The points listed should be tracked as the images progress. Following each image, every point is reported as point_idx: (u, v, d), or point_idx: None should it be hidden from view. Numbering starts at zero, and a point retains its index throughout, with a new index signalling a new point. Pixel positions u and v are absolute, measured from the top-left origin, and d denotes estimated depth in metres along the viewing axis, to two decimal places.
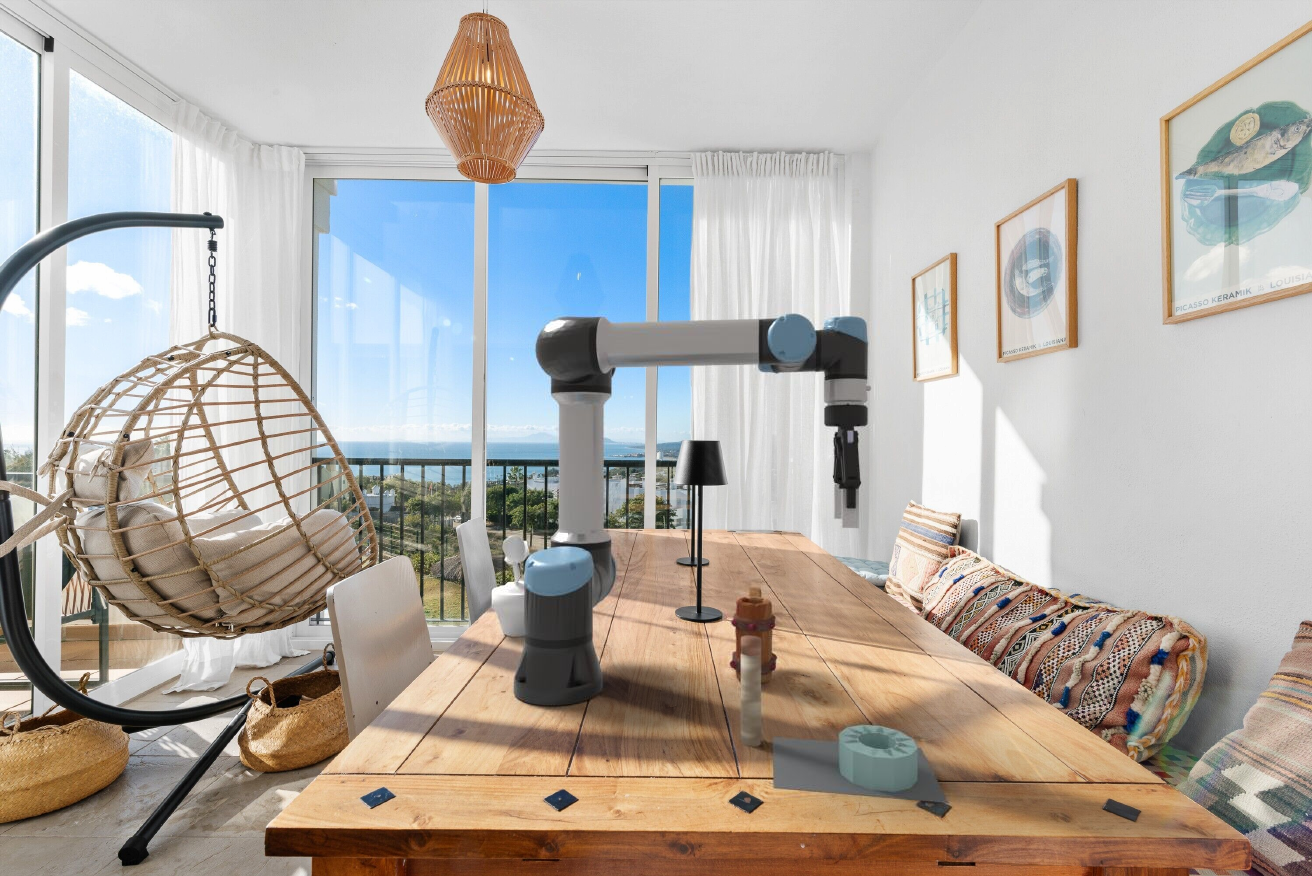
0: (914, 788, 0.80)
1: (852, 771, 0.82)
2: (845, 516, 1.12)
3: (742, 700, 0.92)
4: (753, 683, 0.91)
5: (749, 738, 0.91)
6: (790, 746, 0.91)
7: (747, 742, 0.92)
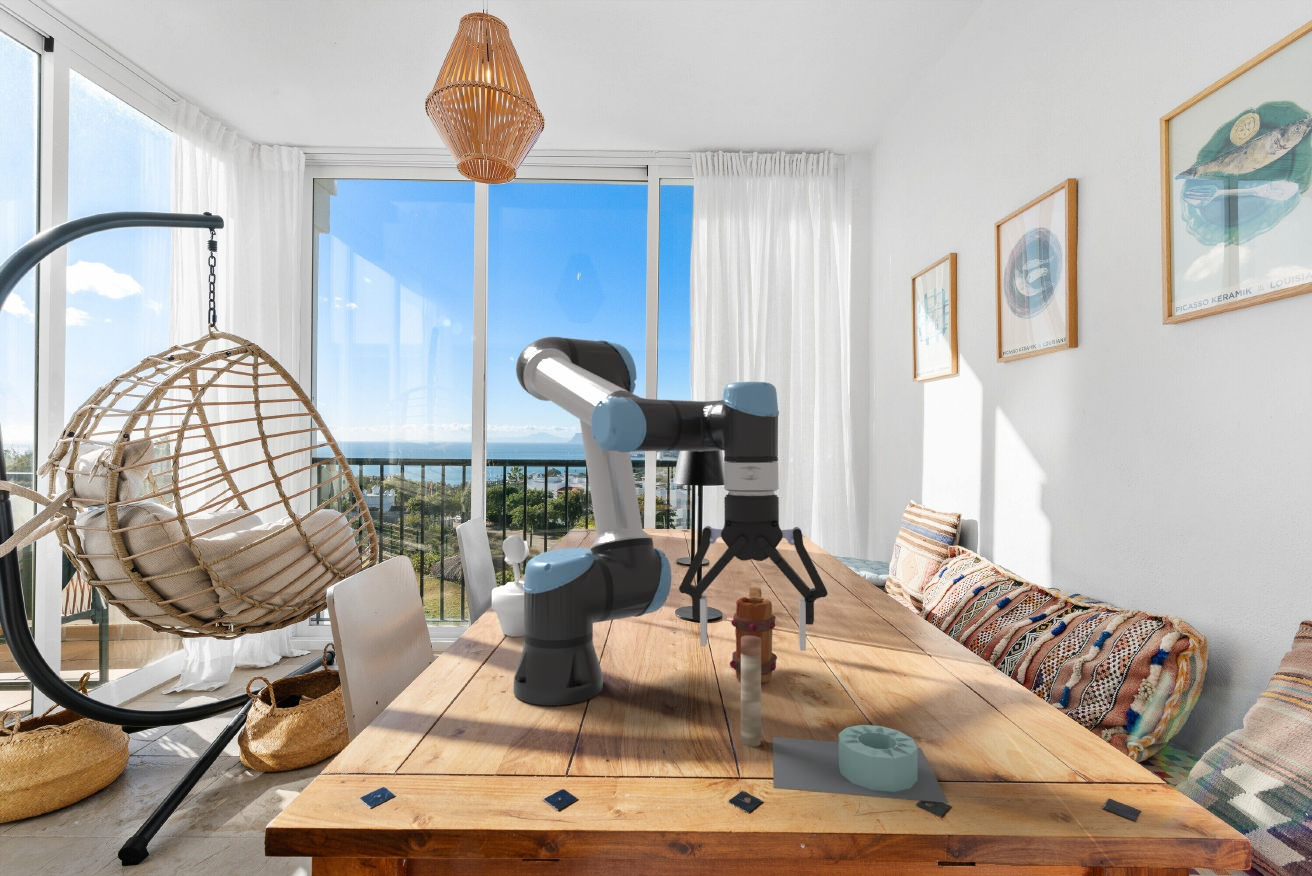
0: (914, 788, 0.80)
1: (852, 771, 0.82)
2: None
3: (742, 700, 0.92)
4: (753, 683, 0.91)
5: (749, 738, 0.91)
6: (790, 746, 0.91)
7: (747, 742, 0.92)
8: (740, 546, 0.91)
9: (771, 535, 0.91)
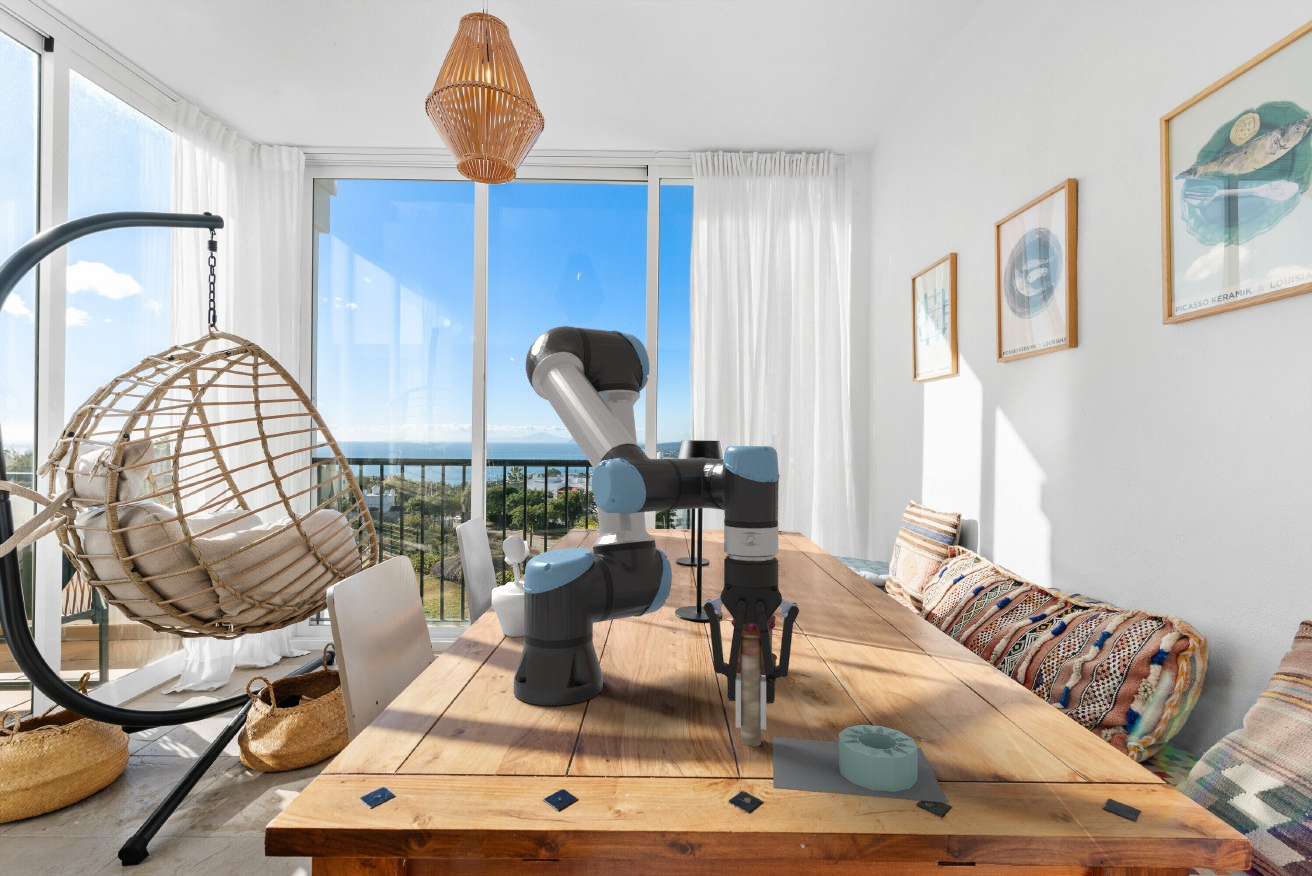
0: (914, 788, 0.80)
1: (852, 771, 0.82)
2: None
3: (742, 700, 0.92)
4: (753, 683, 0.91)
5: (749, 738, 0.91)
6: (790, 746, 0.91)
7: (747, 742, 0.92)
8: (743, 610, 0.91)
9: (771, 598, 0.91)
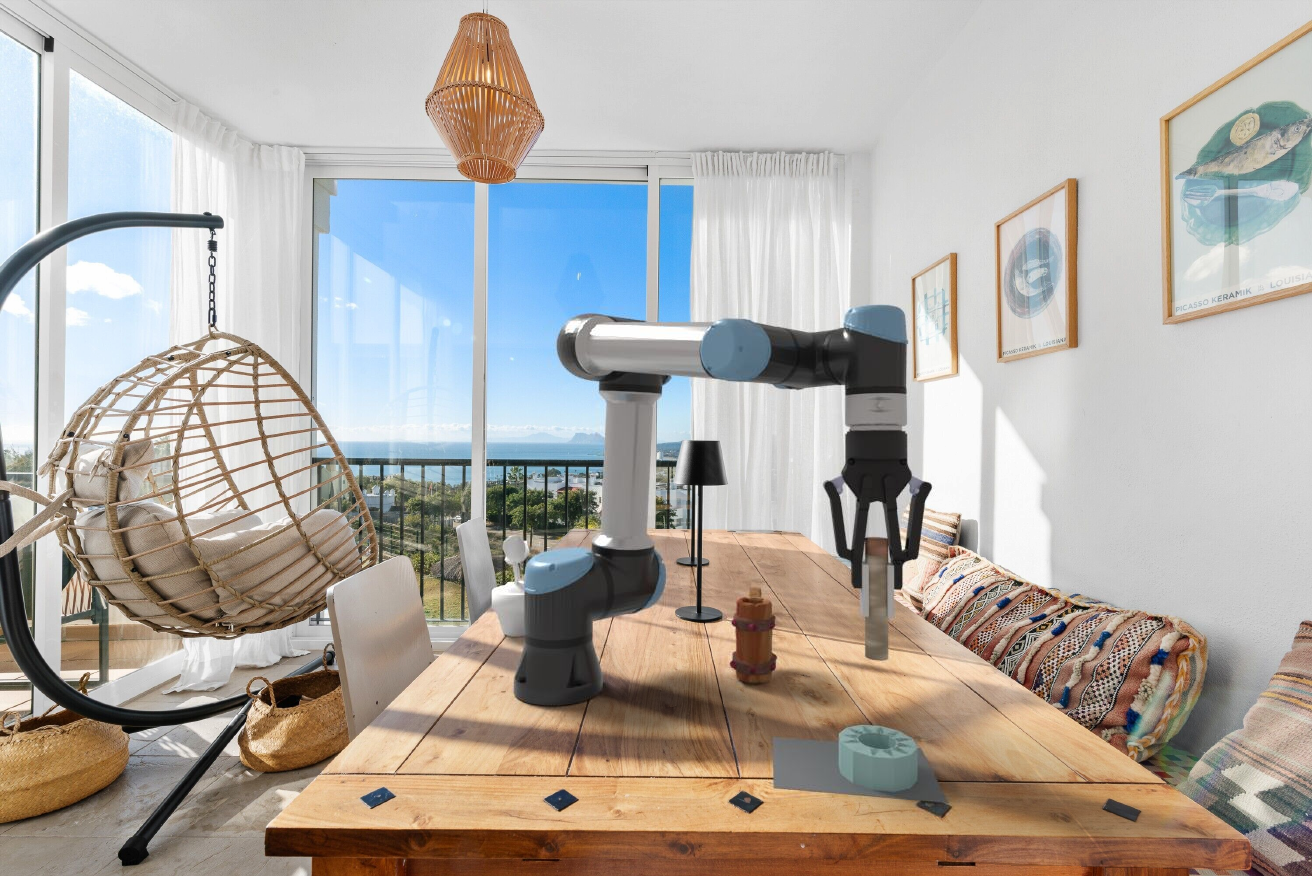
0: (914, 788, 0.80)
1: (852, 771, 0.82)
2: (860, 597, 0.85)
3: None
4: (881, 586, 0.83)
5: (876, 646, 0.83)
6: (790, 746, 0.91)
7: (874, 652, 0.83)
8: (870, 486, 0.83)
9: (900, 473, 0.83)
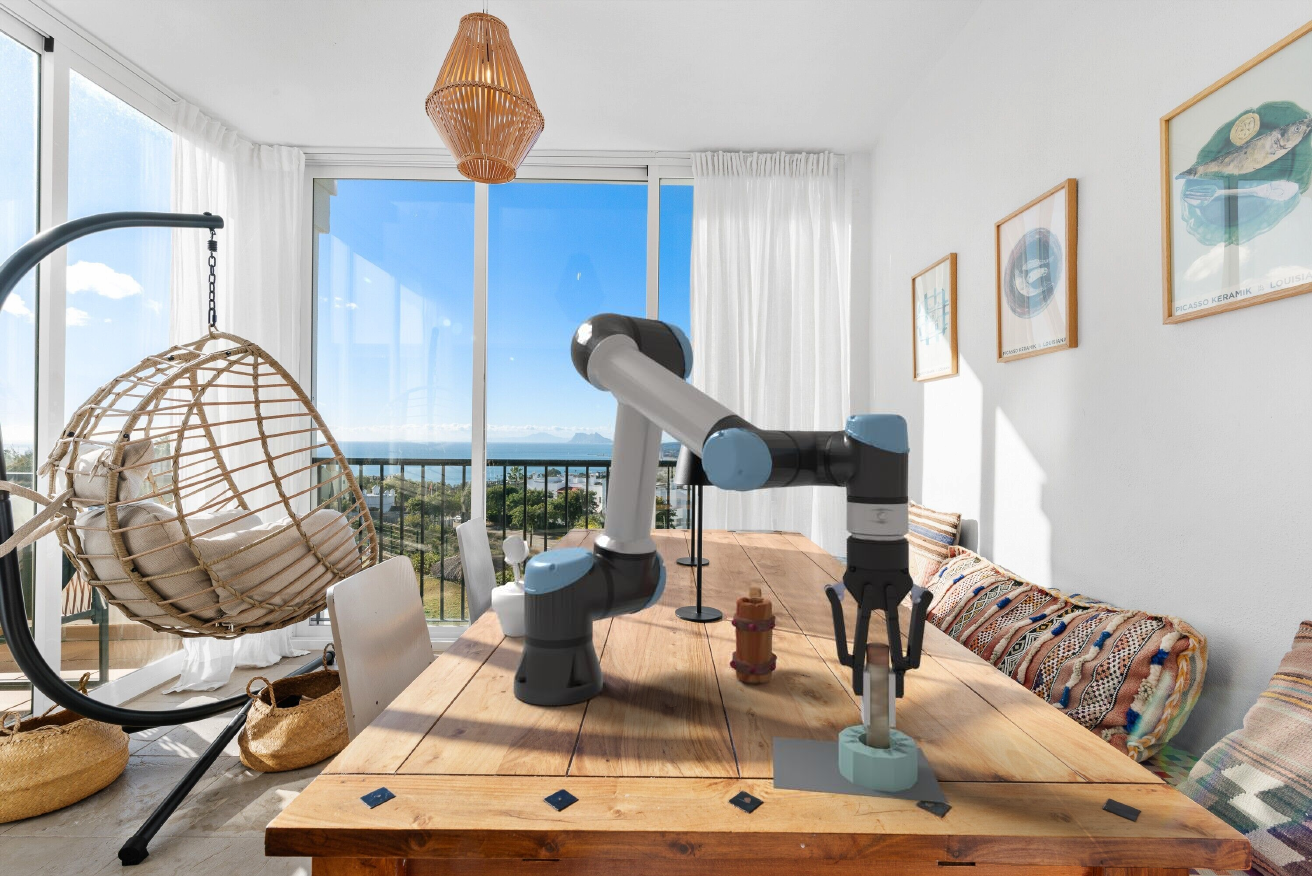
0: (914, 788, 0.80)
1: (852, 771, 0.82)
2: (861, 703, 0.85)
3: None
4: (882, 695, 0.83)
5: None
6: (790, 746, 0.91)
7: None
8: (871, 595, 0.83)
9: (902, 582, 0.83)
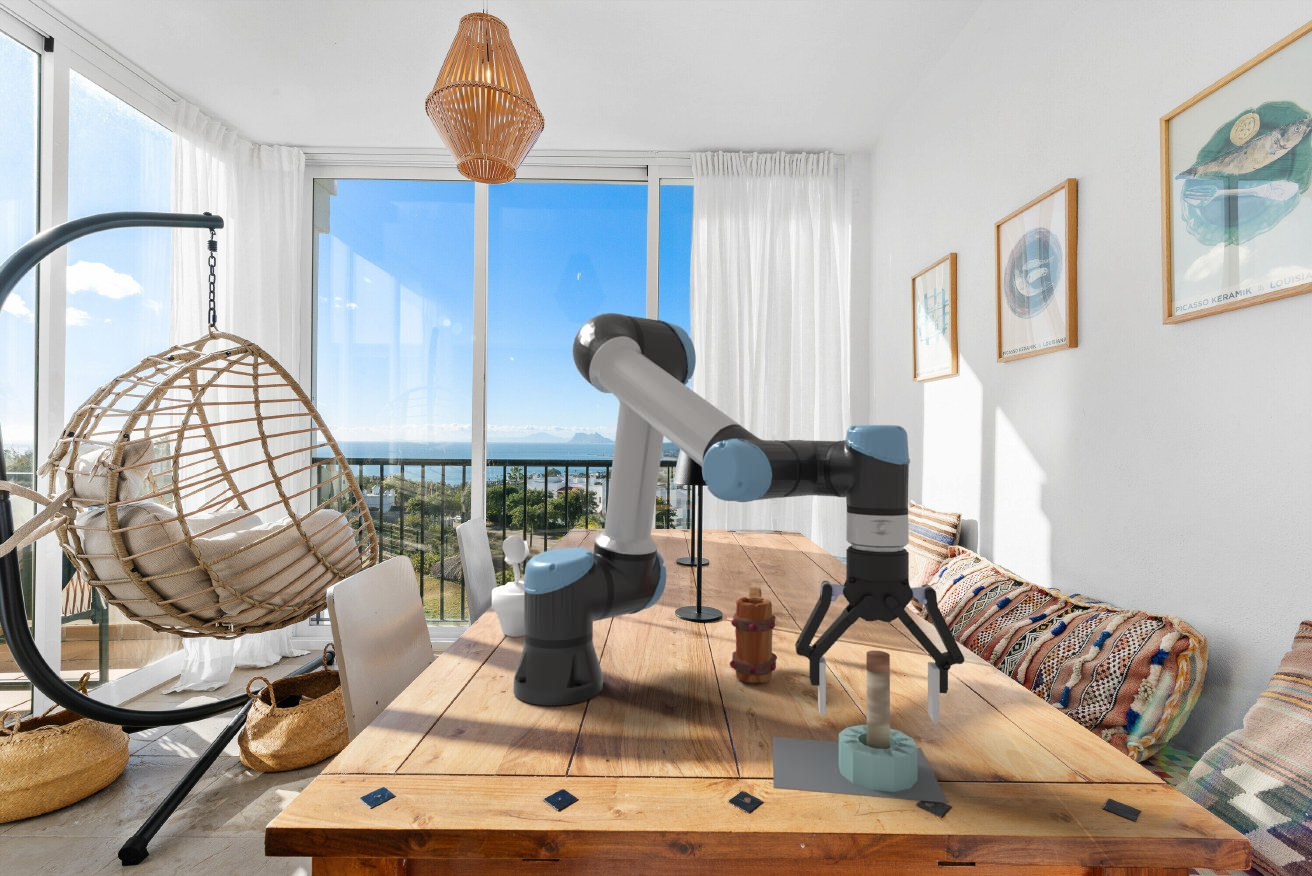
0: (914, 788, 0.80)
1: (852, 771, 0.82)
2: (818, 693, 0.86)
3: (869, 722, 0.84)
4: (882, 703, 0.83)
5: None
6: (790, 746, 0.91)
7: None
8: (867, 606, 0.83)
9: (901, 594, 0.83)
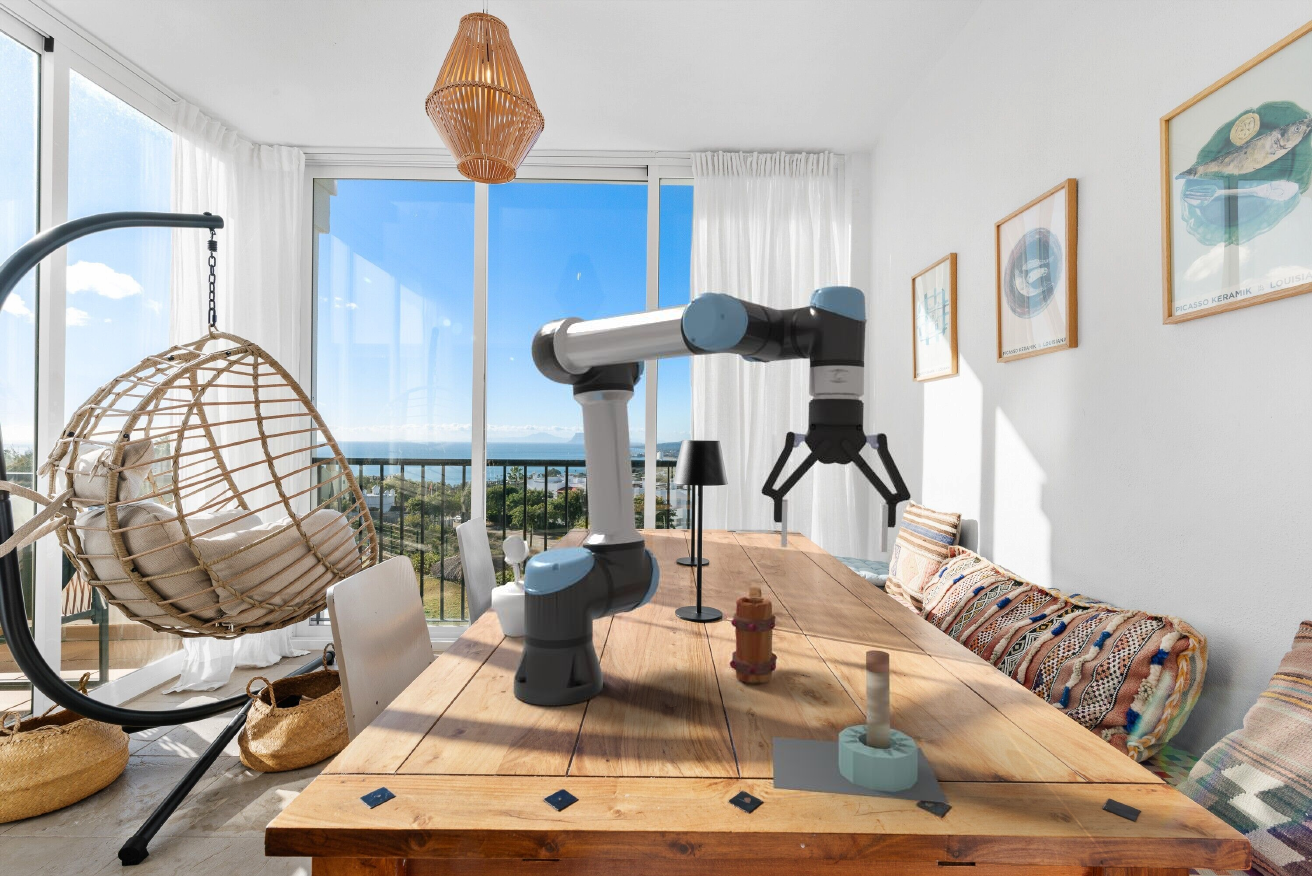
0: (914, 788, 0.80)
1: (852, 771, 0.82)
2: None
3: (869, 722, 0.84)
4: (882, 703, 0.83)
5: None
6: (790, 746, 0.91)
7: None
8: (824, 449, 0.93)
9: (855, 439, 0.93)
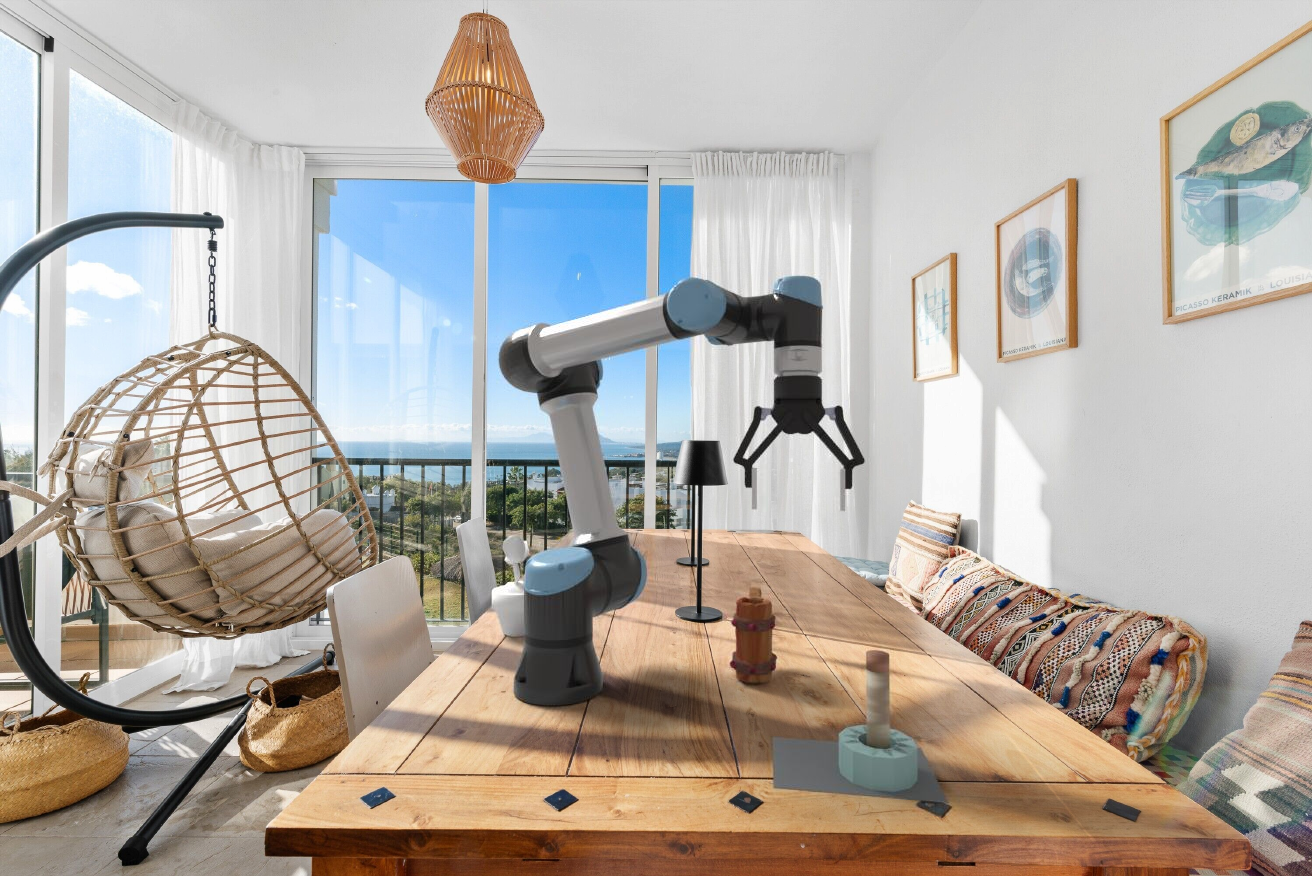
0: (914, 788, 0.80)
1: (852, 771, 0.82)
2: None
3: (869, 722, 0.84)
4: (882, 703, 0.83)
5: None
6: (790, 746, 0.91)
7: None
8: (788, 420, 1.04)
9: (815, 411, 1.04)
